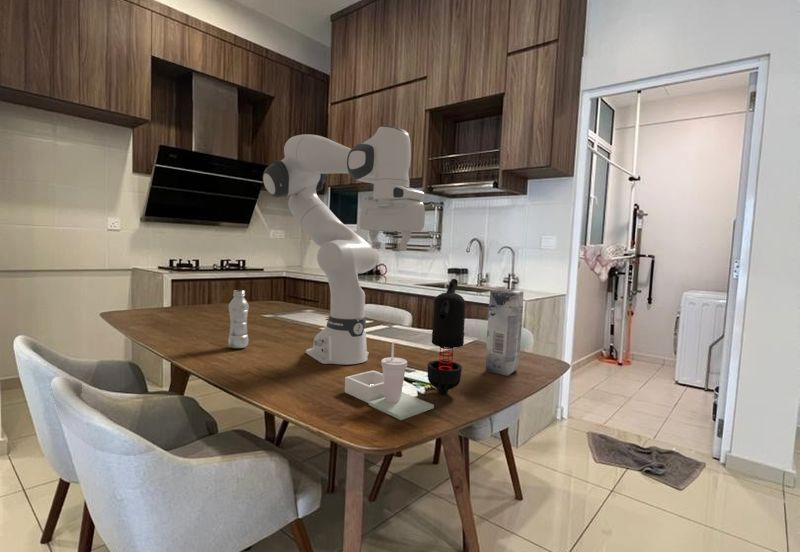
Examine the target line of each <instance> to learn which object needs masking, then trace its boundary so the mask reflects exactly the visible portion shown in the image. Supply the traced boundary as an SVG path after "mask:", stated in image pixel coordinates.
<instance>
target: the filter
mask: <svg viewBox="0 0 800 552" xmlns="http://www.w3.org/2000/svg"><path fill="white" fill-rule="evenodd" d="M448 284H449V285H448V287H447V290H446V292H442V293H440V294H438V295H436V297H435V299H433V317H432V318H433V319H432V331H431V343H432V345H434V346H436V347H439V353H438V355H439V357H442V358H439V359H438V360H432V361H429V362H427V381H428V382H429V384H430V385H431V386H433V387H434V388H436V389H437V390H438V394H439V395H442V396H443V395H444V396H446V395H448V394H449V390H452V389H455V388H456V387H457V386H458V385H460V382H461V377H462V369H463V366H462V364H460V363H458V362H456V361H455V362H454V360H453V358H454V357H453V356H454V353H453V352H454V349H455V348H460V347H463V346H464V344H465V323H466V322H465V319H466V301H465V298H464V297H463V296H462V295H460V294H458V293H456V290H457V287H458V284H459V283H458V279H457V278H451V280H450V281H449V283H448ZM442 349H443V350H451V352H450V351H441V350H442ZM446 354H448V355H446ZM444 357H446V358H444ZM447 357H448V358H447ZM450 357H451V359H450Z"/></svg>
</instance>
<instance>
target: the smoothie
mask: <svg viewBox="0 0 800 552" xmlns="http://www.w3.org/2000/svg"><path fill="white" fill-rule="evenodd" d="M394 355H395V342H391V355H390V357H384V358H381V360H380V362H381V363H380V365H381V367H382V374H383V380H384V393H385V400H386V401H387V402H392V403H395V402H399V401H400V398H401V392H402V391H403V386H404V380H405V374H406V368H407V367H408V361H407V360H406V359H405V358H402V357H395V356H394Z"/></svg>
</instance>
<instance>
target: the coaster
mask: <svg viewBox="0 0 800 552" xmlns="http://www.w3.org/2000/svg"><path fill="white" fill-rule="evenodd" d="M368 406H370V407H372V408H374V409H375V410H378V411H380V412H382V413H385V414H387V415H389V416H391V417H394V418H396V419H398V420H399V421H403V420H406V419H408V418H411V417H413V416H416V415H420V414H423V413H424V412H427V411H429V410H433V409H434V408H435V405H434V404H433V403H430V402H427V401H425V400H423V399H420V398H417V397H415V396H413V395H410V394H408V393H405V392H404V391H403V392H401V398H400V401H399V402H395V403H392V402H387V401H386V400H385V397H383V398H380V399H376V400H373V401H370V402H369V403H368Z"/></svg>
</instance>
